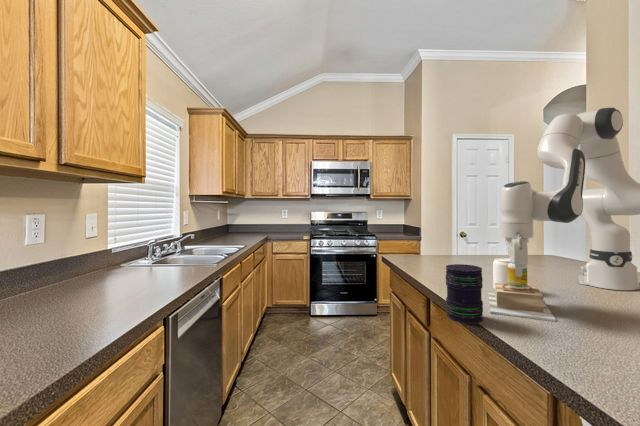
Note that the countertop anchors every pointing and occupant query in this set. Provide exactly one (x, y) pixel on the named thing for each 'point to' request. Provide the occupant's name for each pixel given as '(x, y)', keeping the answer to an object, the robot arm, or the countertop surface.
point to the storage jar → (464, 293)
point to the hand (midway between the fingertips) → (517, 274)
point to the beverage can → (500, 271)
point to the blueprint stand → (519, 302)
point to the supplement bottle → (517, 281)
